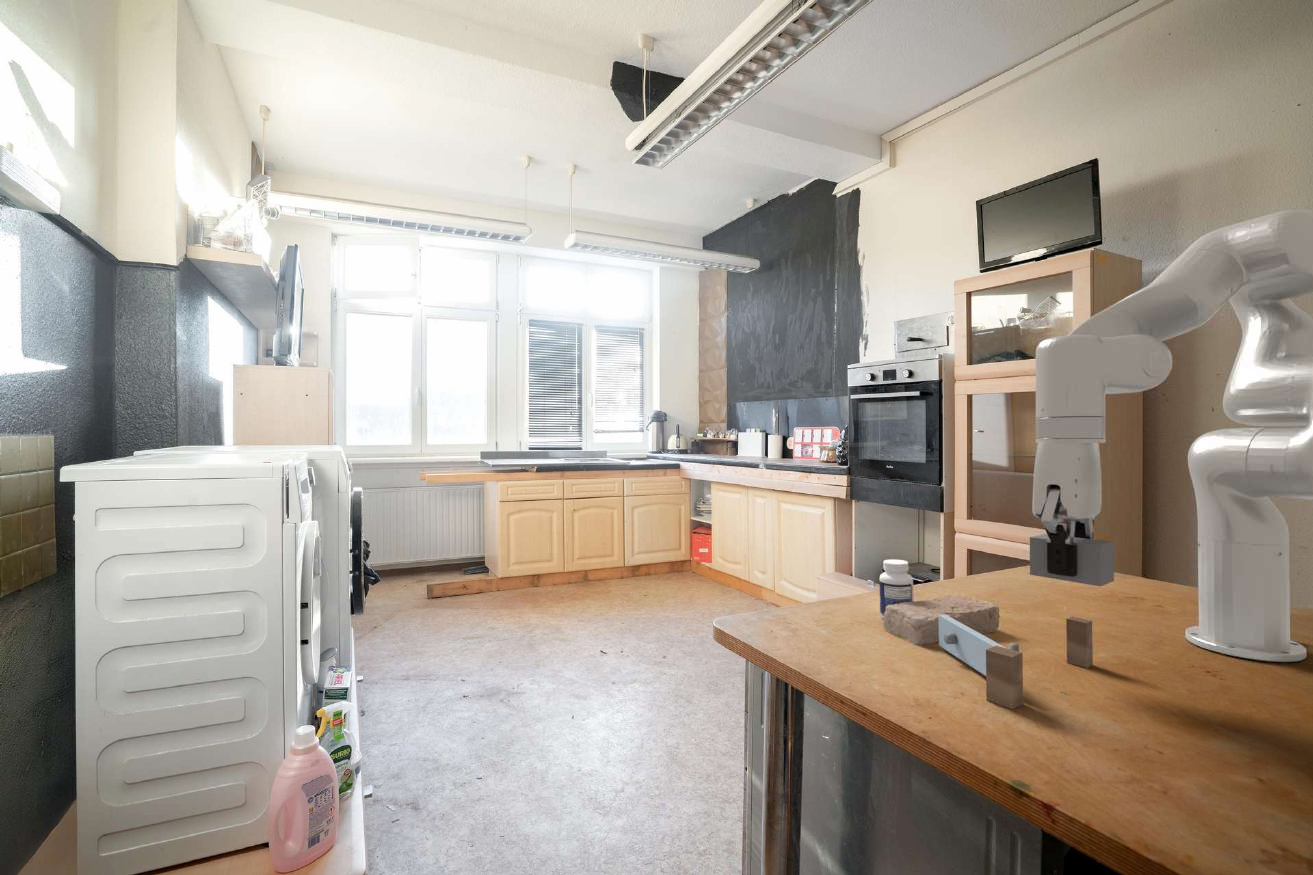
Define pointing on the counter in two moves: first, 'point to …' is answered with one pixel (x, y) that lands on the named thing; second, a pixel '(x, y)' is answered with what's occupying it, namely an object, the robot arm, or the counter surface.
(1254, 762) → the counter surface
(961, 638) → the door
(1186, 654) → the counter surface
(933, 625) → the brick
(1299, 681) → the counter surface
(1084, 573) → the block
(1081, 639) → the block
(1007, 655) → the brown wooden block
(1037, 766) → the counter surface
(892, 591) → the pill bottle
